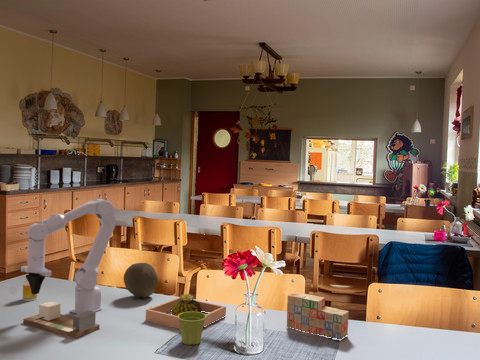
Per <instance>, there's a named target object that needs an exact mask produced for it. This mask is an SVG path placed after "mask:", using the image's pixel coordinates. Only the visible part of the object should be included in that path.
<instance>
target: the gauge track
mask: <svg viewBox="0 0 480 360" xmlns="http://www.w3.org/2000/svg"><path fill="white" fill-rule="evenodd" d="M96 312H97V311H96ZM96 312H94V311H90V310H89V311H86V312H83V313H80V314H74V315H72V316H69V315H65V314H61V313H60V317H58V318H55V319H52V320H49V321H48V320H44V319H39V320H36V319H38V318H39V313H38V314H36V315H35V314H34V315H32V316H29V317H24V318H23V319H22V320H23V321H22V324H25V325H28V326H32V327H35V328H38V329H42V330H45V331H48V332H51V333H55V334H58V335H61V336H65V337H68V338H71V339H77V338H79V337H82V336H86V335H88V334H91V333H93V332H95V331H98V330H100V324H97V323H96Z"/></svg>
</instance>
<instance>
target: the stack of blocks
mask: <svg viewBox="0 0 480 360" xmlns="http://www.w3.org/2000/svg"><path fill="white" fill-rule="evenodd" d="M349 312H350V311H348V310H345V309H339V308H335V307H331V306H326V297H323V296H318V295H314V294H313V295H311V294H307V293H303V292H297V291H295V292H292V293H290V294H288V295H287V303H286V328H287V327H291V328H294V329H298V330H301V331H305V332H309V333H313V334H319V335H324V336H327V337H331V338H337V339H342V338H343V337H345V336H346V335H348V334H349V333H348V329H349Z"/></svg>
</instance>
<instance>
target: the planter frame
mask: <svg viewBox="0 0 480 360" xmlns="http://www.w3.org/2000/svg"><path fill="white" fill-rule="evenodd" d="M179 300H181V299H180V297H176V298H173V299H170V300H168V301H166V302H163V303H160V304H157V305H155V306H153V307H150V308H147V309H145V321H147V322H150V323H155V324H159V325H161V326H162V325H163V326H167V327H171V328H174V329H178V330H181V328H180V322H179V319H178V316H175V315H171V314H170V312H169V311H171V310H172V307H173V306H172V305H174V304H175V302H178V301H179ZM194 300H195V301H198V302H199V305H201V310H202V311H205V312H210V313H208V314H206V313H205V314H206V319H205V321H204V324H203V327H204V326H206V325H208V324H210V323H212V322H214V321H216V320H218V319H220V318H222V317H224V316H225V315H226V316H227V306H225V305H221V304H216V303H210V302H205V301H202V300H201V301H200V300H197V299H194ZM173 303H174V304H173ZM167 312H169V313H167ZM171 312H172V311H171ZM224 318H225V317H224ZM222 319H223V318H222ZM220 320H221V319H220ZM218 321H219V320H218Z"/></svg>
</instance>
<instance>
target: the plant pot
mask: <svg viewBox="0 0 480 360" xmlns="http://www.w3.org/2000/svg"><path fill="white" fill-rule="evenodd" d="M205 314H206V313H201V312H183V313H180V314H179V315H178V319H179V322H180V328H181V329H180V336H181V342H182V344H184V345H187V346H191V345H195V344H196V345H199V344H200V343H201V341H202V334H203V329H204V328H203V324H204V321H205V319H206V315H205Z"/></svg>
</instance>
